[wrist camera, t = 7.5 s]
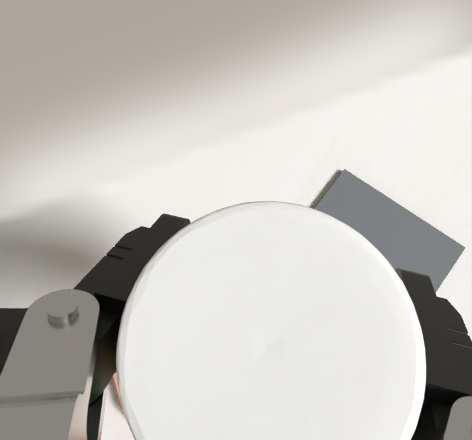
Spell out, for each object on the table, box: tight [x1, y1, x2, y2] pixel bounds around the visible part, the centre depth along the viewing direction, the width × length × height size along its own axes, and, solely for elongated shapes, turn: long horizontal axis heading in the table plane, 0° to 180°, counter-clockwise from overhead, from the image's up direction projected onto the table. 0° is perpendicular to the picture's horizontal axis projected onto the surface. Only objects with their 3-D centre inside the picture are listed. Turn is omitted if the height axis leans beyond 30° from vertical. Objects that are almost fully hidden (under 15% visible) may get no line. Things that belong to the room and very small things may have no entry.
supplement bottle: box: [116, 201, 426, 440], centre depth 10 cm, size 6×6×10 cm
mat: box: [314, 169, 465, 293], centre depth 27 cm, size 10×10×1 cm
